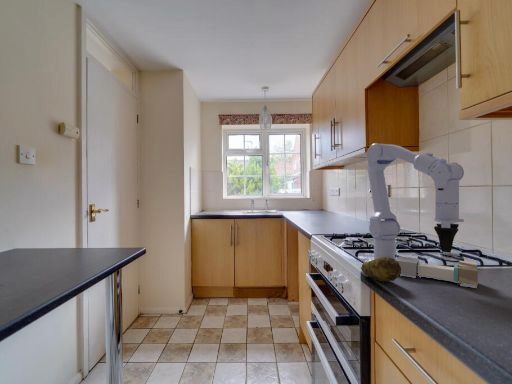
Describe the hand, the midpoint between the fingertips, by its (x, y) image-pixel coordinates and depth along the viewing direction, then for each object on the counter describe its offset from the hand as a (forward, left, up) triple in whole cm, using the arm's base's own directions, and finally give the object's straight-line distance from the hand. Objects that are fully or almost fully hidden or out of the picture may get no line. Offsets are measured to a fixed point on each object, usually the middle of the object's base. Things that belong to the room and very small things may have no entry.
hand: (446, 249), depth 81 cm
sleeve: (0, -10, -9) cm, 14 cm away
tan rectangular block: (0, +5, -9) cm, 11 cm away
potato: (+12, -16, -10) cm, 22 cm away
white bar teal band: (0, -1, -9) cm, 9 cm away
